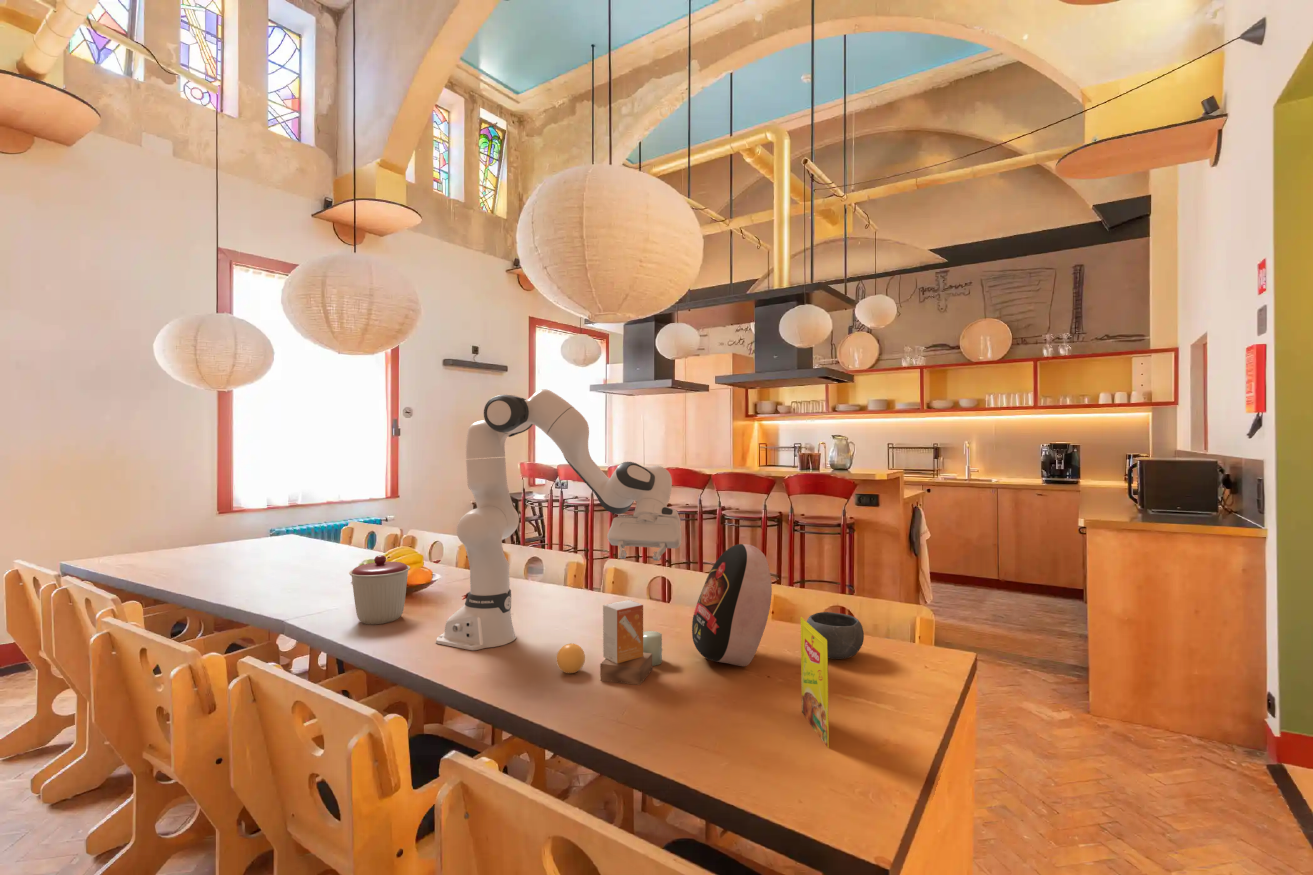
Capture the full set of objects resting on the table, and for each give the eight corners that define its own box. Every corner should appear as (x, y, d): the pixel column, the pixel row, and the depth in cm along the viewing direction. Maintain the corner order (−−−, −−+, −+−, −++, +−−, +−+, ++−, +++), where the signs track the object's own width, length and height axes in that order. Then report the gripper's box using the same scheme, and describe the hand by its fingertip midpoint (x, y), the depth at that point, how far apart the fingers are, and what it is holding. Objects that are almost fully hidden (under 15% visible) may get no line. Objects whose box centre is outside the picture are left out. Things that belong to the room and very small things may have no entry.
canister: (396, 609, 210) (396, 548, 210) (420, 619, 198) (419, 554, 198) (341, 620, 197) (340, 555, 197) (362, 632, 185) (361, 563, 185)
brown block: (600, 680, 145) (600, 663, 145) (614, 665, 155) (614, 649, 155) (640, 684, 142) (640, 667, 142) (652, 669, 152) (652, 653, 152)
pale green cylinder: (635, 664, 155) (635, 637, 155) (642, 656, 161) (642, 630, 161) (658, 666, 154) (658, 639, 154) (664, 658, 159) (664, 632, 160)
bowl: (867, 650, 164) (866, 613, 164) (860, 670, 150) (860, 629, 150) (811, 643, 170) (810, 608, 170) (800, 661, 156) (799, 622, 156)
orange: (551, 676, 148) (551, 647, 148) (564, 665, 155) (563, 638, 155) (578, 679, 146) (578, 649, 146) (589, 668, 153) (589, 640, 153)
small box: (617, 664, 144) (616, 609, 145) (602, 657, 150) (602, 604, 150) (644, 656, 150) (643, 604, 150) (629, 650, 154) (628, 599, 155)
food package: (799, 711, 127) (798, 616, 128) (804, 711, 127) (803, 616, 128) (825, 748, 112) (824, 640, 112) (831, 747, 112) (830, 639, 112)
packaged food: (683, 648, 167) (681, 539, 167) (749, 642, 172) (748, 536, 172) (709, 678, 146) (708, 553, 146) (784, 670, 150) (782, 549, 151)
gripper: (611, 508, 170) (598, 549, 161) (682, 510, 164) (673, 553, 155) (617, 521, 174) (605, 562, 165) (686, 524, 168) (677, 567, 159)
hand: (638, 558), depth 160 cm, fingers open, 8 cm apart
